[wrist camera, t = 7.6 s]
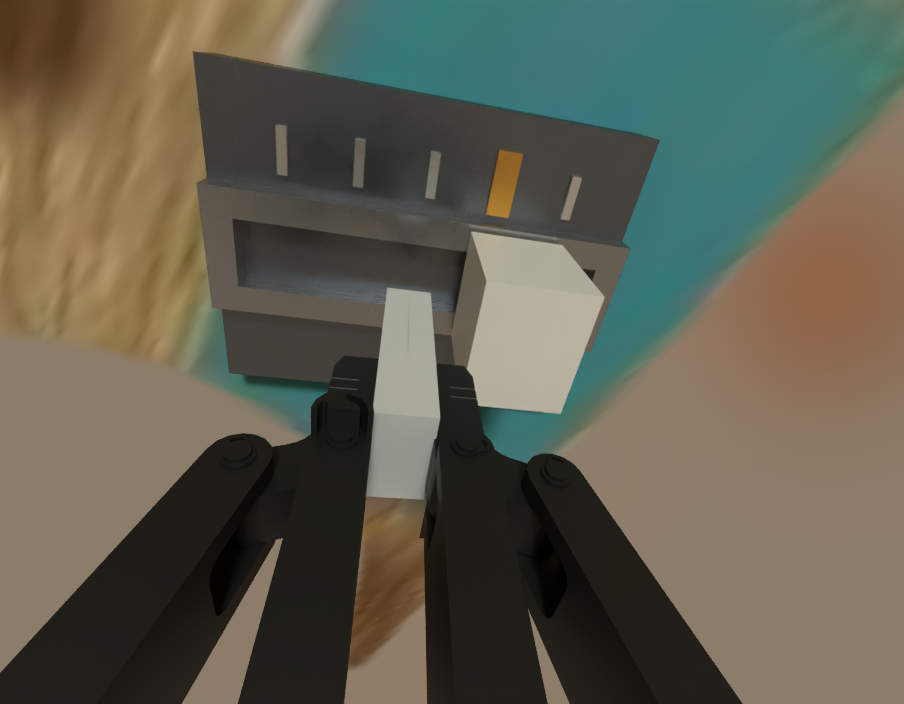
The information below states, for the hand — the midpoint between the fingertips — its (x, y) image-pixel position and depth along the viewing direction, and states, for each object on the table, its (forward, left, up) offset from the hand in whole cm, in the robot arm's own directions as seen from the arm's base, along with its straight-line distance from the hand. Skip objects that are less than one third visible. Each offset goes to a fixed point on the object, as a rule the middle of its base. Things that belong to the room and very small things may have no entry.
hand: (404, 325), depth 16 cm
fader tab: (+4, 0, -6) cm, 7 cm away
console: (+1, 0, -8) cm, 8 cm away
